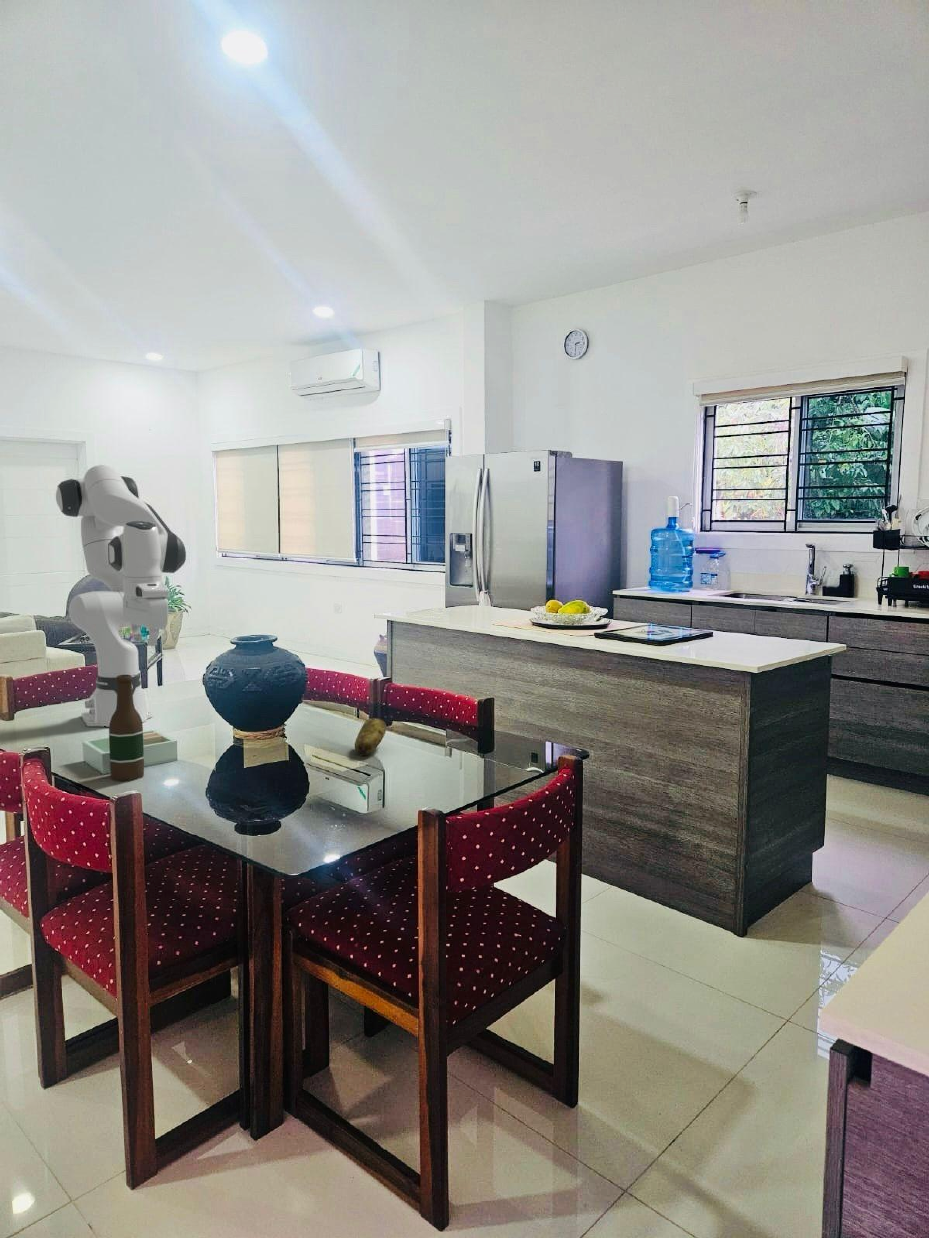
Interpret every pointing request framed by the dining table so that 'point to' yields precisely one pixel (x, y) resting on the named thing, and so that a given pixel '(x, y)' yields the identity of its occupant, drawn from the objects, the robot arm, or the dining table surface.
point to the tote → (154, 754)
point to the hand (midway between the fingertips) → (145, 643)
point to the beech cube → (151, 738)
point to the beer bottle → (126, 735)
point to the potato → (370, 736)
